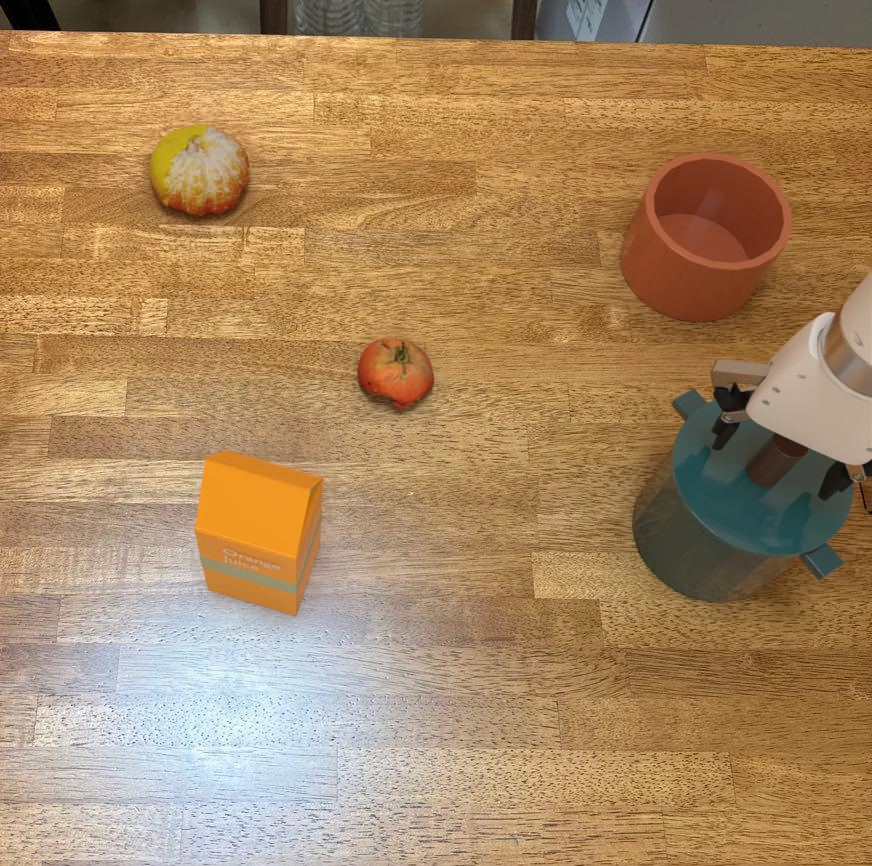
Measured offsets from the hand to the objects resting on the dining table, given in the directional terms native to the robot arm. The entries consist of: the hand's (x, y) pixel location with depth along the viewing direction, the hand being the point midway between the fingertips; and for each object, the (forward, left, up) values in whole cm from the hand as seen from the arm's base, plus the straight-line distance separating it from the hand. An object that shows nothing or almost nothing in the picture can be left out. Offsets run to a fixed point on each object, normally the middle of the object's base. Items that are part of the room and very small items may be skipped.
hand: (772, 461), depth 86 cm
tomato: (+17, -30, -15) cm, 38 cm away
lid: (0, 0, -3) cm, 3 cm away
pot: (0, 0, -15) cm, 15 cm away
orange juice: (+39, -19, -15) cm, 46 cm away
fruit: (+22, -62, -15) cm, 68 cm away
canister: (-19, -26, -15) cm, 36 cm away
